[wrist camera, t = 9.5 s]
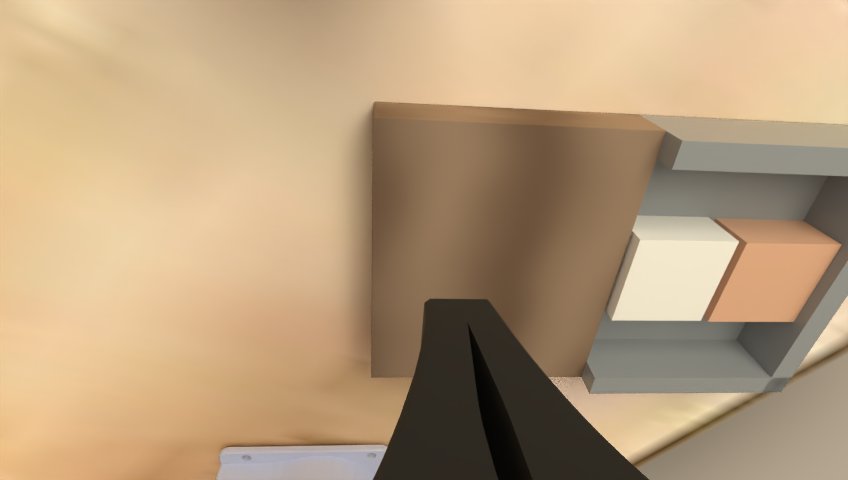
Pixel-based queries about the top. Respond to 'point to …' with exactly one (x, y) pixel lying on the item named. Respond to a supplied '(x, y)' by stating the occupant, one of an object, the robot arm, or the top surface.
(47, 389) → the top surface
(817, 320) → the tray
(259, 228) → the top surface
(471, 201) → the walnut board
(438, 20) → the top surface
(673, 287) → the ivory tile
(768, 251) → the terracotta tile
